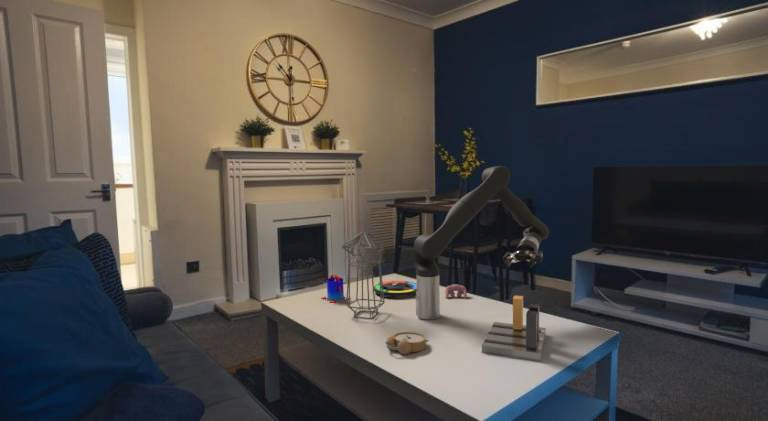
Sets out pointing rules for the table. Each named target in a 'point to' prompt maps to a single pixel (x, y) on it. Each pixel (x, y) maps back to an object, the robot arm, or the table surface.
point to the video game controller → (455, 287)
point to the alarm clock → (406, 342)
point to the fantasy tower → (335, 290)
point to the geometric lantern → (353, 243)
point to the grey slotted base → (517, 338)
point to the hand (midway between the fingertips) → (518, 264)
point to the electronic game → (397, 289)
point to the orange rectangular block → (518, 312)
